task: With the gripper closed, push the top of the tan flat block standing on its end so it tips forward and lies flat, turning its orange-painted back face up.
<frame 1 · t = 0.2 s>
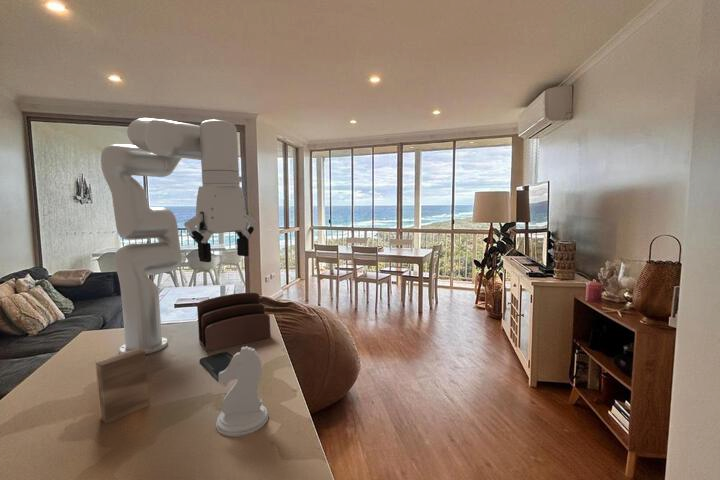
hand: (225, 258, 79), 31 cm above the kitchen island, tool pointing down, fingers open, 9 cm apart
tan flat block: (125, 411, 75), on the kitchen island
letter holder: (235, 340, 114), on the kitchen island
phone: (222, 368, 95), on the kitchen island
chess piece: (242, 421, 71), on the kitchen island
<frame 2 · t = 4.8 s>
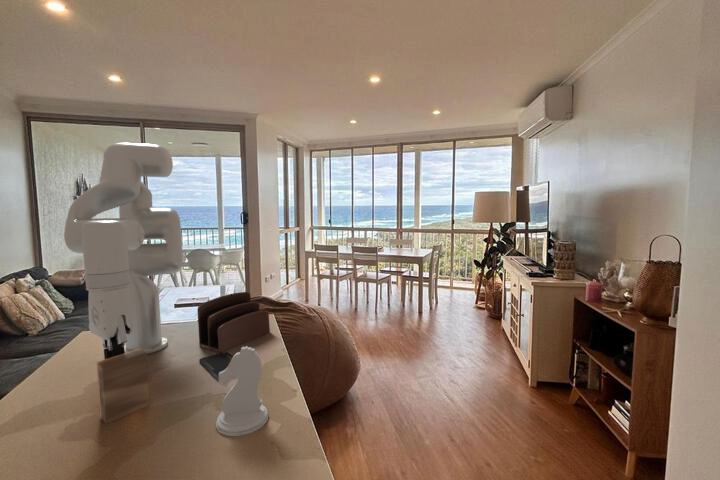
hand: (115, 365, 75), 9 cm above the kitchen island, tool pointing down, fingers closed
tan flat block: (125, 411, 75), on the kitchen island, touching gripper
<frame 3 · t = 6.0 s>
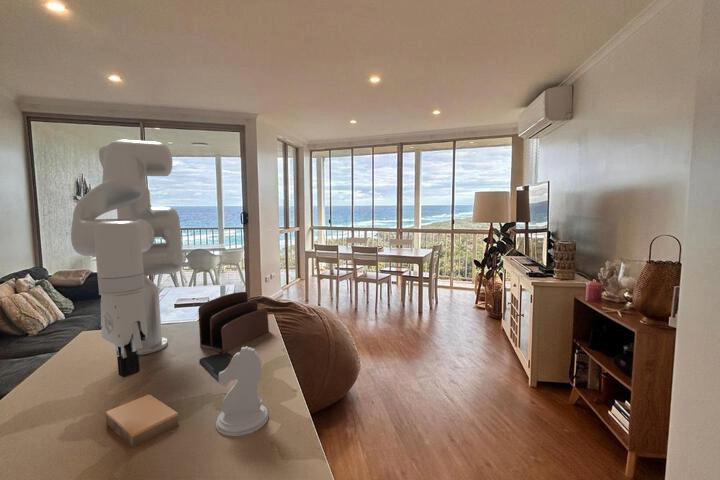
hand: (129, 373, 72), 9 cm above the kitchen island, tool pointing down, fingers closed
tan flat block: (128, 409, 73), point 1 cm above the kitchen island, tilted 90°
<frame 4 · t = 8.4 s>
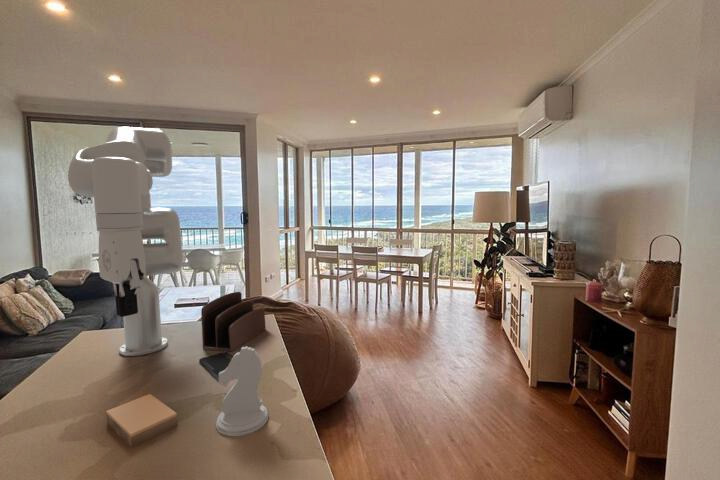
hand: (127, 314, 71), 21 cm above the kitchen island, tool pointing down, fingers closed
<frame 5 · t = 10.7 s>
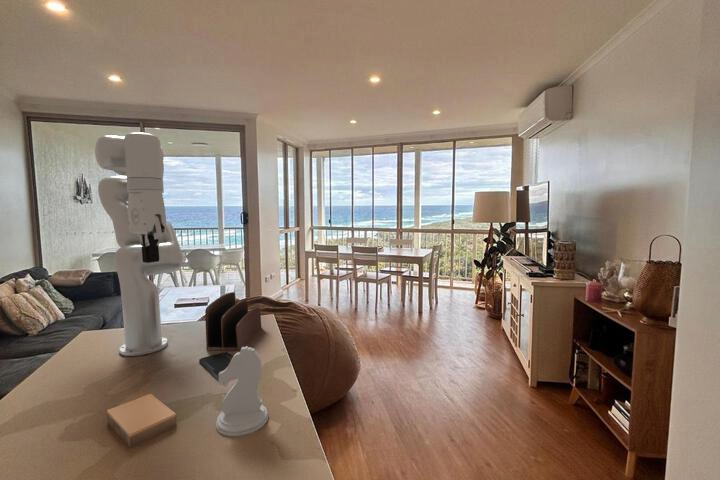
hand: (151, 261, 88), 29 cm above the kitchen island, tool pointing down, fingers closed
at the end: tan flat block tilted 90°; tan flat block inside the target area (1.5 cm from its centre), point 1.1 cm above the kitchen island; the gripper is holding nothing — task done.
